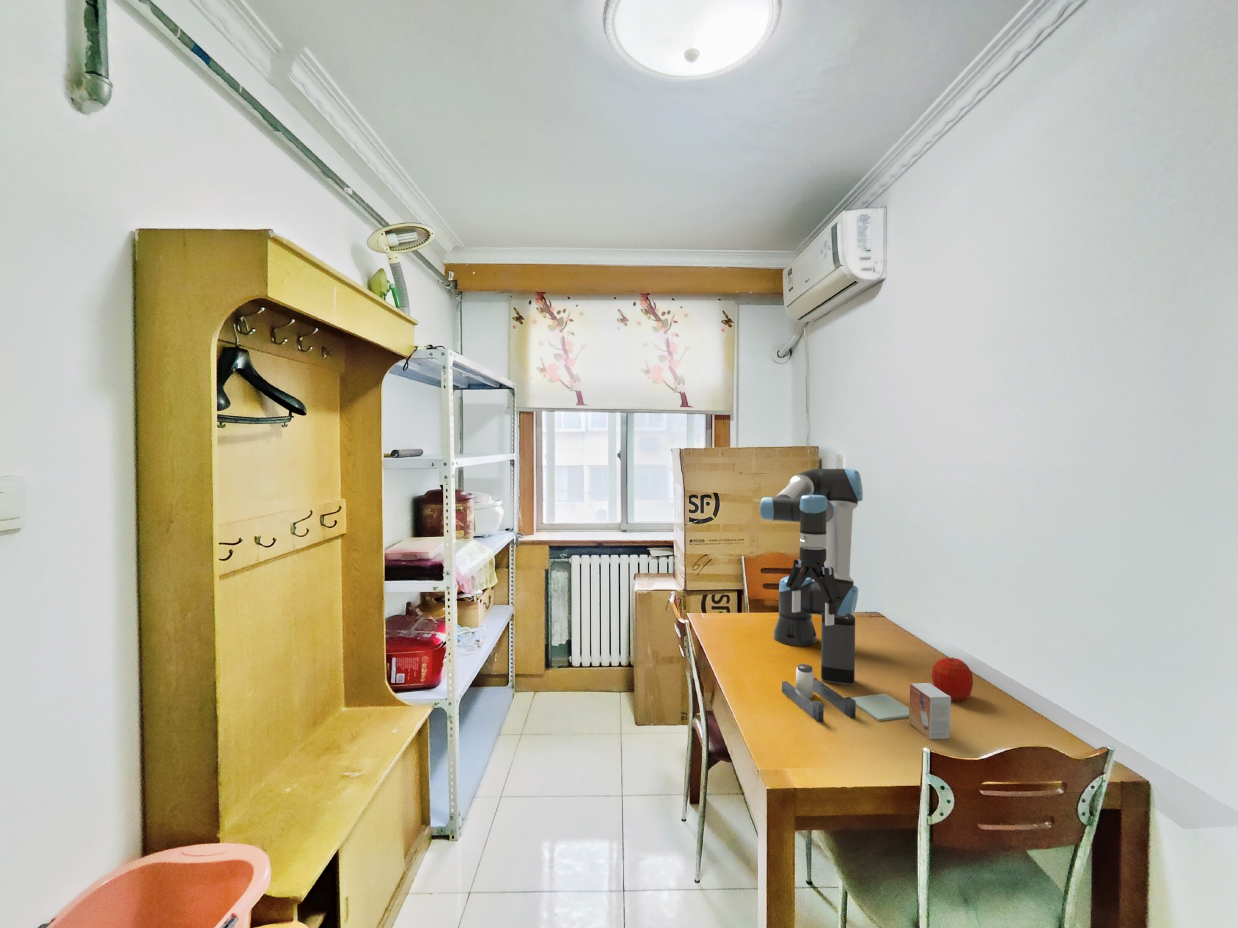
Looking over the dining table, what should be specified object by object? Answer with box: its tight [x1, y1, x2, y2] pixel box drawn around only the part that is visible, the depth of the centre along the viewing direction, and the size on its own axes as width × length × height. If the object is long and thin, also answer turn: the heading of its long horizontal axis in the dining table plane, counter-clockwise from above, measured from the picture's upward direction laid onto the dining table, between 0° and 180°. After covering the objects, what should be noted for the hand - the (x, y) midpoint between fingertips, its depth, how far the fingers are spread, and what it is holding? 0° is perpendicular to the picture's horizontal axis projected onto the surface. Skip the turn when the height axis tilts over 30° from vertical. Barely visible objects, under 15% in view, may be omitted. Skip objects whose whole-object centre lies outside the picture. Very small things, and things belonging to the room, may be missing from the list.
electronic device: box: [820, 612, 856, 686], centre depth 163 cm, size 9×6×20 cm, turn 71°
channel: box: [781, 677, 857, 723], centre depth 148 cm, size 18×11×4 cm, turn 13°
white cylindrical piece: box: [795, 663, 815, 699], centre depth 154 cm, size 5×5×8 cm
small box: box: [908, 682, 952, 740], centre depth 134 cm, size 8×6×10 cm
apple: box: [931, 657, 974, 702], centre depth 152 cm, size 10×10×12 cm
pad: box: [851, 693, 909, 722], centre depth 146 cm, size 12×12×1 cm
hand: (812, 618), depth 160 cm, fingers open, 13 cm apart
